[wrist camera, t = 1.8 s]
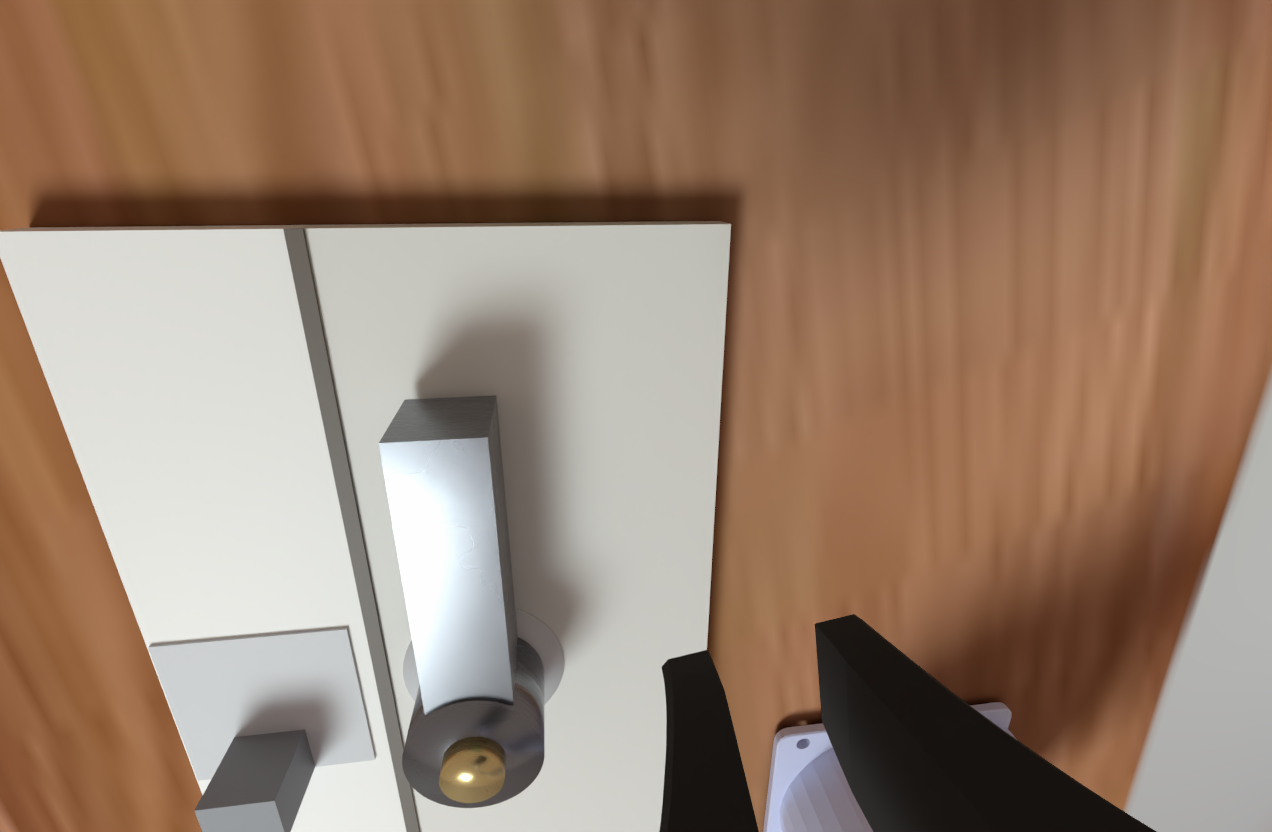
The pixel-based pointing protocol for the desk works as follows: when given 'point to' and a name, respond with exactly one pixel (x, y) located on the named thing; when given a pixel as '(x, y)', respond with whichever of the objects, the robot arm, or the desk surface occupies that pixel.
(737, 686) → the desk surface
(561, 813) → the door board
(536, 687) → the bar
